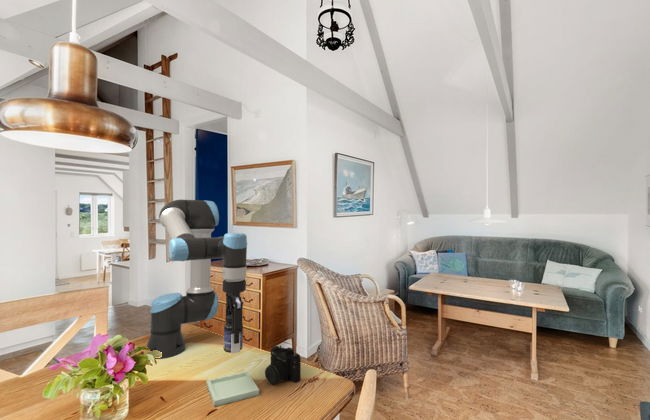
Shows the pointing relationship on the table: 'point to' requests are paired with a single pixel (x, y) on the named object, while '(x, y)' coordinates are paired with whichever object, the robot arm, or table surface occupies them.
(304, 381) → the table surface
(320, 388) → the table surface
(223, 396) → the tray
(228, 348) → the pill bottle
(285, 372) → the camera
